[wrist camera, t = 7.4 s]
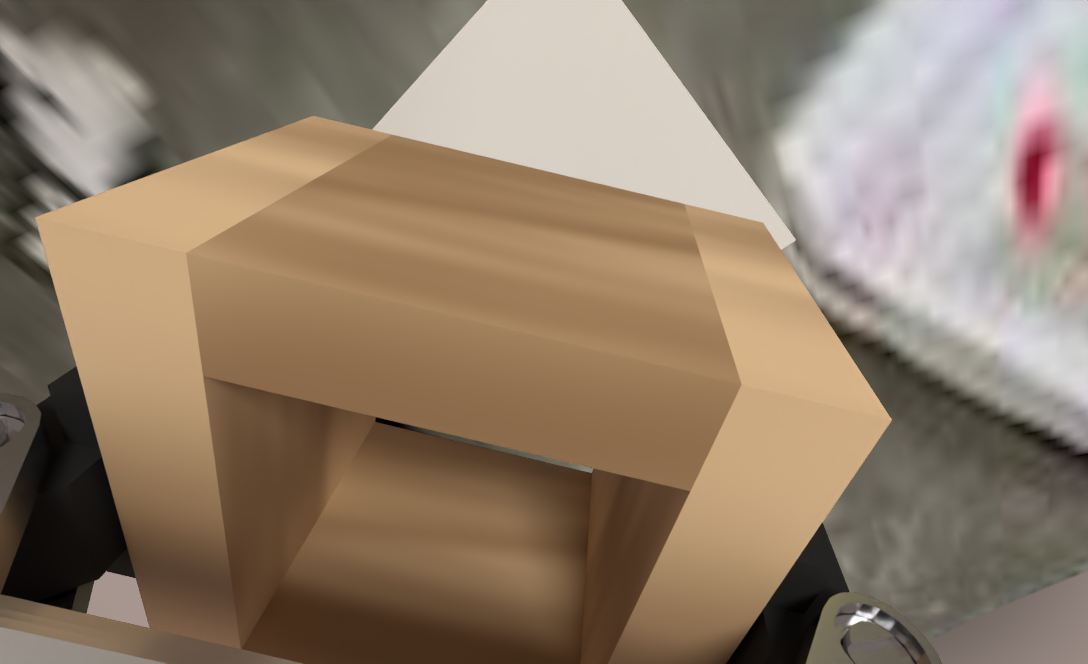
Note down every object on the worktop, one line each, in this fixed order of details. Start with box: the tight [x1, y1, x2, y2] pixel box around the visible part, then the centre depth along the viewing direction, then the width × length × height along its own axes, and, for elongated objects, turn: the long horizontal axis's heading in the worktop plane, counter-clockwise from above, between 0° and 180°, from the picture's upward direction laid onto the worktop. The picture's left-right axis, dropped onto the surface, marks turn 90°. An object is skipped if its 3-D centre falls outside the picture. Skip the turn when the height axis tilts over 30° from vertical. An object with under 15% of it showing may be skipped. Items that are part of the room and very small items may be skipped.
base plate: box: [372, 0, 796, 249], centre depth 25 cm, size 20×16×7 cm
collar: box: [35, 116, 892, 664], centre depth 9 cm, size 7×7×5 cm
